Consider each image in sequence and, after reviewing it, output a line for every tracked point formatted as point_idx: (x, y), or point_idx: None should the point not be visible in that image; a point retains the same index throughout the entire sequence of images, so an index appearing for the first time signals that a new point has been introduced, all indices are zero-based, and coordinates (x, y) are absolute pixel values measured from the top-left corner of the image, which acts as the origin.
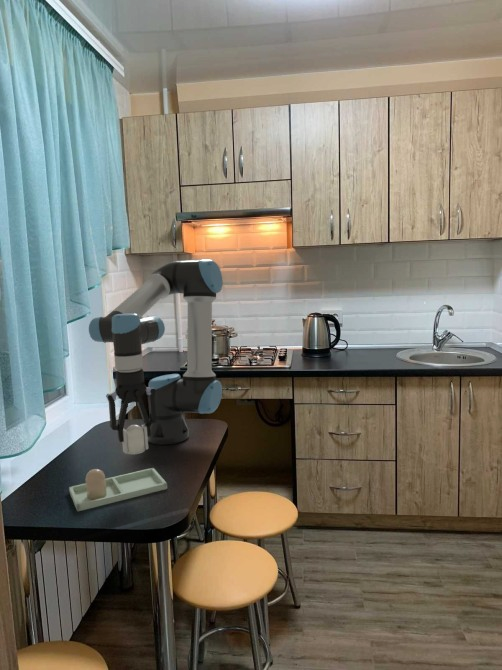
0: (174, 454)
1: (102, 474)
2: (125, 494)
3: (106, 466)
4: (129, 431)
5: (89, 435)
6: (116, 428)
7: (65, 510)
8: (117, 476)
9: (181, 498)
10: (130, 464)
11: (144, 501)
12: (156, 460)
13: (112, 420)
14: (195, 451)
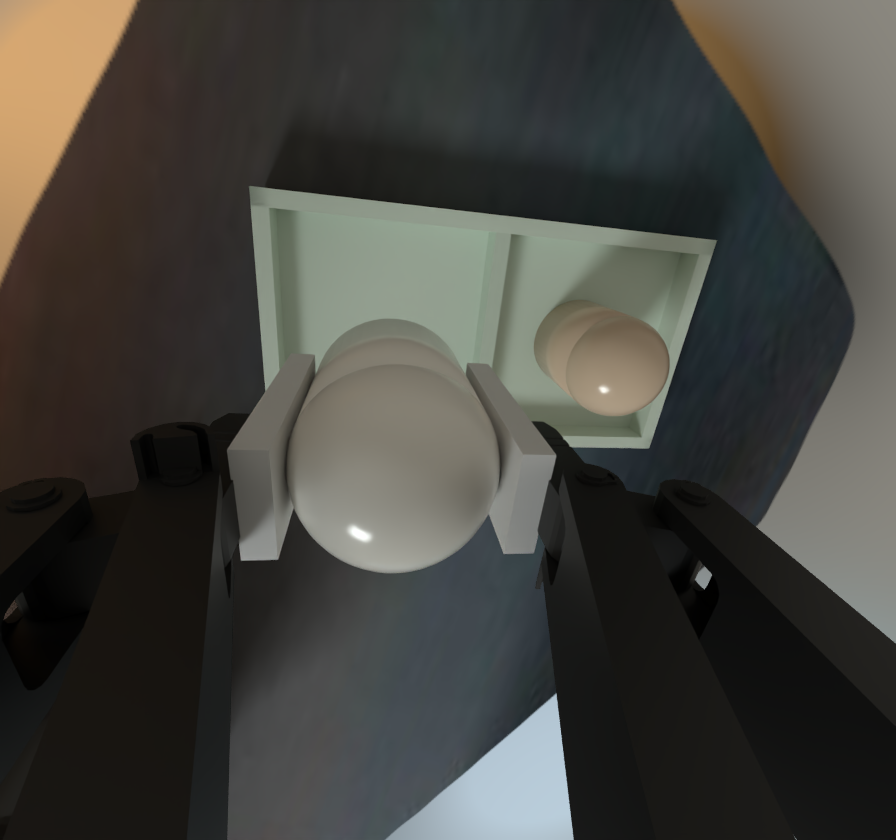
0: None
1: (600, 344)
2: (495, 215)
3: (428, 600)
4: (479, 442)
5: (395, 825)
6: (661, 488)
7: (695, 316)
8: None
9: (206, 35)
10: (340, 578)
11: (407, 163)
12: None
13: (807, 579)
14: None
